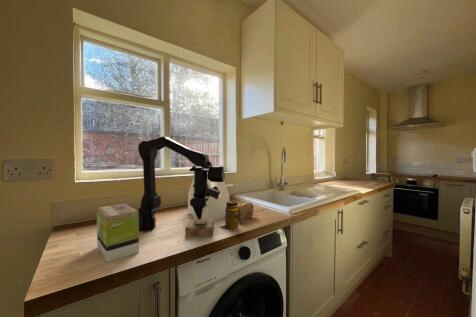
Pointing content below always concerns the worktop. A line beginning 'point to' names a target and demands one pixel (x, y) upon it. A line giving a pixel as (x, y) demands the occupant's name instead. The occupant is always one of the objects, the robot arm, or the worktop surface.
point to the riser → (199, 229)
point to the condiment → (231, 217)
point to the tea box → (117, 231)
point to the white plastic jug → (212, 200)
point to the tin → (245, 212)
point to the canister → (203, 217)
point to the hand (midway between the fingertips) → (200, 217)
